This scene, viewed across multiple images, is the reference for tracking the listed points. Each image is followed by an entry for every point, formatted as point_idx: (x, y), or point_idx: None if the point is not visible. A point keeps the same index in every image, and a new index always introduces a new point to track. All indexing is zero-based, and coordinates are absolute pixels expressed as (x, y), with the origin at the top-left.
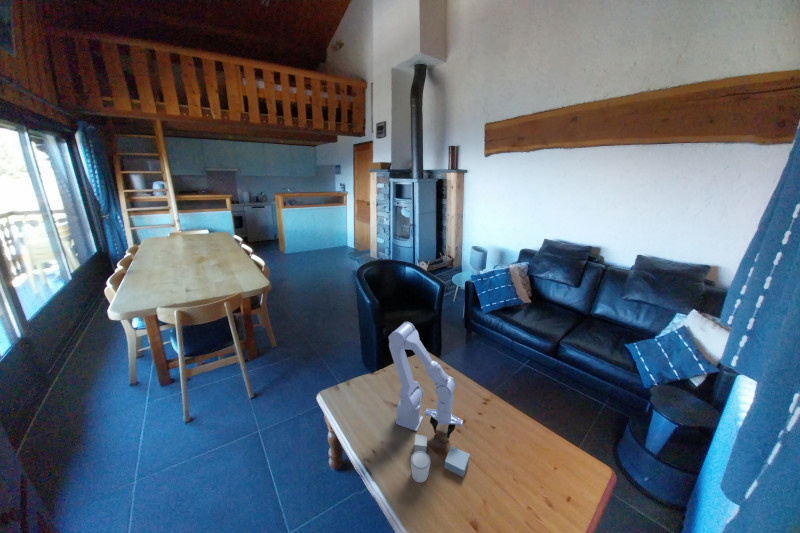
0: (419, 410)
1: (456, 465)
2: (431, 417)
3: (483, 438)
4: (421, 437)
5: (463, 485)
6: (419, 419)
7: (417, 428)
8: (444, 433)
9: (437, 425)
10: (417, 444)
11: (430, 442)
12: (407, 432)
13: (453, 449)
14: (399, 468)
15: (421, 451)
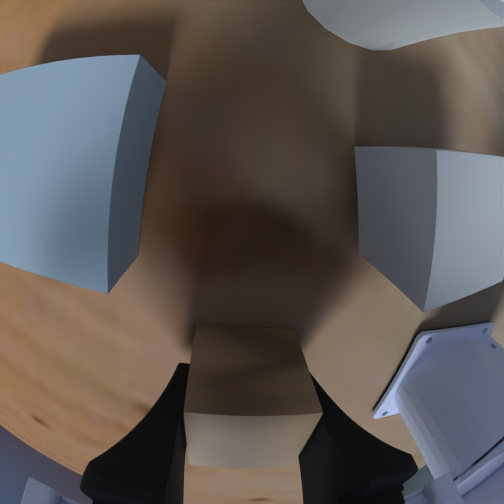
0: (450, 459)
1: (29, 79)
2: (396, 497)
3: (31, 380)
4: (475, 266)
5: (37, 38)
6: (409, 402)
7: (415, 350)
8: (214, 405)
9: (304, 442)
10: (502, 165)
11: (329, 290)
12: (459, 302)
13: (75, 254)
14: (468, 51)
15: (493, 9)
